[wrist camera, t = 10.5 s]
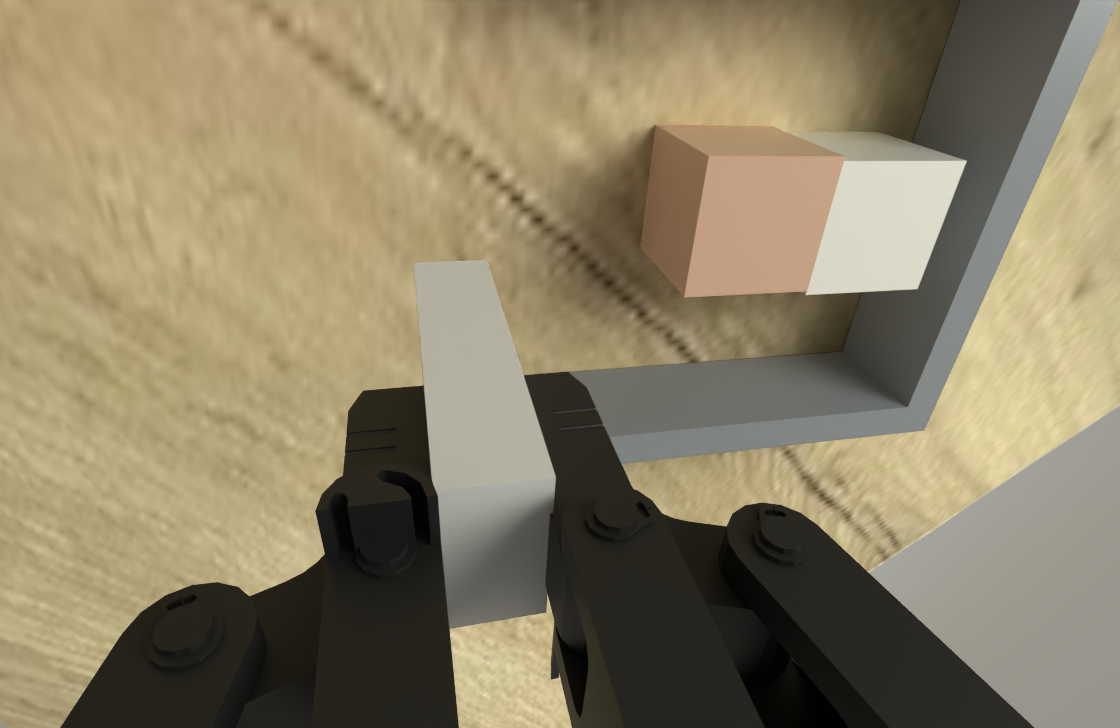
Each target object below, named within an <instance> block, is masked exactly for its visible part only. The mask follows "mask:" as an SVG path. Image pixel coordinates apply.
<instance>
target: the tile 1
mask: <svg viewBox="0 0 1120 728" xmlns="http://www.w3.org/2000/svg"><path fill="white" fill-rule="evenodd" d="M844 159H845V156H843V155H841V154H838V153H836V152H833V151H831V150H828V149H826V148H824V147H821V146H819V145H816V144H814V143H811V142H809V141H807V140H804V139H802V138H799V137H797V136H794V135H792V134H790V133H787V132H785V131H782V130H780V129H777V128H775V127H773V126H705V125H656V126H655V134H654V141H653V149H652V157H651V165H650V173H649V181H648V189H647V196H646V204H645V212H644V220H643V228H642V236H641V244H640V248H641V249H642V251H643V252H644V253H645V254H646V255H647V256H648V257H649V258H650V260H651V261H652V262H653V263H654V264H655V265H656V266H657V268H658V269H659V270H660V271H661V272H662V273H663V274H664V275H665V277H666V278H667V279H668V280H669V281H670V282H671V283H672V284H673V286H674V287H675V288H676V289H677V290H678V291H679V292H680V293H681V295H682V296H683V297H684V298H685V297H704V296H724V295H744V294H763V293H783V292H803V291H807V288H808V285H809V281H810V278H811V274H812V271H813V267H814V264H815V260H816V257H817V253H818V250H819V246H820V243H821V239H822V236H823V232H824V229H825V225H826V222H827V219H828V215H829V212H830V208H831V205H832V201H833V198H834V194H835V191H836V187H837V184H838V180H839V177H840V173H841V170H842V166H843V163H844Z"/></svg>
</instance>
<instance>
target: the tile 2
mask: <svg viewBox="0 0 1120 728" xmlns="http://www.w3.org/2000/svg"><path fill="white" fill-rule="evenodd" d="M785 132H787V133H790V134H792V135H794V136H797V137H799V138H802V139H804V140H807V141H809V142H811V143H814V144H816V145H819V146H821V147H824V148H826V149H828V150H831V151H833V152H836V153H838V154H841V155H843V156H845V159H844V163H843V166H842V170H841V173H840V177H839V180H838V184H837V187H836V191H835V194H834V198H833V201H832V205H831V208H830V212H829V215H828V219H827V222H826V225H825V229H824V232H823V236H822V239H821V243H820V246H819V250H818V253H817V257H816V260H815V264H814V267H813V271H812V274H811V278H810V281H809V285H808V288H807V291H803V293H804V294H805V295H816V294H835V293H853V292H872V291H891V290H910V289H918V287H919V284H920V281H921V279H922V276H923V274H924V271H925V268H926V266H927V263H928V261H929V258H930V255H931V253H932V250H933V248H934V245H935V242H936V240H937V237H938V235H939V232H940V229H941V227H942V224H943V222H944V219H945V216H946V214H947V211H948V209H949V206H950V203H951V201H952V198H953V196H954V193H955V190H956V188H957V185H958V183H959V180H960V177H961V175H962V172H963V170H964V167H965V164H966V162H967V161H966V160H963V159H960V158H957V157H954V156H951V155H948V154H944V153H941V152H938V151H935V150H932V149H929V148H926V147H923V146H920V145H917V144H914V143H911V142H908V141H905V140H902V139H899V138H896V137H893V136H890V135H887V134H884V133H880V132H846V131H785Z"/></svg>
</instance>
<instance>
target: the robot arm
mask: <svg viewBox="0 0 1120 728" xmlns="http://www.w3.org/2000/svg"><path fill="white" fill-rule="evenodd" d="M414 273H415V286H416V299H417V311H418V324H419V337H420V350H421V363H422V375H423V386H414V387H402V388H390V389H378V390H366V391H363V392H362V393H361V394H360V396H359V397H358V398H357V400H356V401H355V403H354V404H353V405H352V407H351V408H350V409H349V411H348V423H347V437H346V447H345V459H344V471H343V476H342V477H340V478H338V479H336V480H335V482H334V483H333V484H332V485H331V486H330V487H329V488H328V489H327V490H326V491H325V492H324V493H323V494H322V496H321V498H320V501H319V503H318V506H317V508H316V511H315V512H316V516H317V520H318V525H319V529H320V534H321V538H322V543H323V547H324V551H325V555H324V556H323V557H322V558H321V559H320V560H319V561H318V562H317V563H316V564H314V565H313V566H312V567H310V568H309V569H308V570H306V571H305V572H304V573H302V574H300V575H298V576H296V577H294V578H292V579H290V580H288V581H286V582H284V583H281V584H279V585H276V586H274V587H272V588H269V589H267V590H264V591H262V592H259V593H257V594H254V595H252V596H248V595H247V594H246V593H245V592H243V591H242V590H241V589H240V588H239V587H235V586H231V585H227V584H222V583H218V582H216V583H207V584H198V585H191V586H189V587H186V588H184V589H181V590H178V591H176V592H173V593H171V594H168V595H166V596H164V597H163V598H161V599H160V600H158V601H157V602H155V603H154V604H152V605H151V606H150V607H148V608H147V609H145V610H144V611H142V612H141V613H140V614H139V615H138V616H137V618H136V619H135V620H134V621H133V622H132V623H131V624H130V625H129V627H128V628H127V629H126V630H125V631H124V632H123V633H122V635H121V636H120V638H119V639H118V641H117V642H116V644H115V645H114V647H113V648H112V650H111V651H110V653H109V654H108V656H107V658H106V659H105V661H104V662H103V664H102V665H101V667H100V668H99V670H98V671H97V673H96V674H95V676H94V677H93V679H92V680H91V682H90V683H89V685H88V686H87V688H86V689H85V691H84V693H83V694H82V696H81V697H80V699H79V700H78V702H77V703H76V705H75V706H74V708H73V709H72V711H71V712H70V714H69V715H68V717H67V718H66V720H65V721H64V723H63V724H62V726H61V728H459V726H458V715H457V704H456V694H455V683H454V673H453V662H452V652H451V641H450V630H449V629H450V628H456V627H462V626H468V625H474V624H480V623H486V622H492V621H498V620H504V619H510V618H516V617H522V616H528V615H533V614H539V613H545V612H546V607H547V593H548V597H549V601H550V605H551V609H552V613H553V617H554V632H553V644H552V655H551V679H555V678H559V673H560V678H561V682H562V686H563V691H564V695H565V699H566V703H567V708H568V712H569V716H570V720H571V725H572V728H1034V727H1033V726H1032V725H1031V724H1030V723H1029V722H1028V721H1027V720H1025V719H1024V718H1023V717H1022V716H1021V715H1020V714H1019V713H1018V712H1017V711H1016V710H1015V709H1014V708H1013V707H1012V706H1010V705H1009V704H1008V703H1007V702H1006V701H1005V700H1004V699H1003V698H1002V697H1001V696H1000V695H999V694H997V692H995V691H994V690H993V689H992V688H991V687H990V686H989V685H988V684H987V683H986V682H985V681H984V680H983V679H982V678H981V677H979V676H978V675H977V674H976V673H975V672H974V671H973V670H972V669H971V668H970V667H969V666H968V665H967V664H966V663H964V662H963V661H962V660H961V659H960V658H959V657H958V656H957V655H956V654H955V653H954V652H953V651H952V650H951V649H949V648H948V647H947V646H946V645H945V644H944V643H943V642H942V641H941V640H940V639H939V638H938V637H937V636H936V635H934V634H933V633H932V632H931V631H930V630H929V629H928V628H927V627H926V626H925V625H924V624H923V623H922V622H921V621H919V620H918V619H917V618H916V617H915V616H914V615H913V614H912V613H911V612H910V611H909V610H908V609H907V608H906V607H905V606H903V605H902V604H901V603H900V602H899V601H898V600H897V599H896V598H895V597H894V596H893V595H892V594H890V593H889V591H887V590H886V589H885V588H884V587H883V586H882V585H881V584H880V583H879V582H878V581H877V580H875V578H874V577H872V576H871V575H870V574H869V573H868V572H867V571H866V570H865V569H864V568H863V567H862V566H861V565H860V564H859V563H857V562H856V561H855V560H854V559H853V558H852V557H851V556H850V555H849V554H848V553H847V552H846V551H845V550H844V549H842V548H841V547H840V546H839V545H838V544H837V543H836V542H835V541H834V540H833V539H832V538H831V537H830V536H829V535H828V534H826V533H825V532H824V531H823V530H822V529H821V528H820V527H819V526H818V525H817V524H815V523H814V522H812V521H811V520H810V519H808V518H807V517H805V516H804V515H803V514H801V513H799V512H797V511H794V510H792V509H789V508H787V507H784V506H782V505H776V504H768V503H757V504H751V505H746V506H744V507H742V508H741V509H739V510H738V511H736V512H735V513H733V514H732V516H731V518H730V521H729V523H728V525H727V527H726V526H718V525H711V524H703V523H695V522H688V521H683V520H679V519H674V518H671V517H669V516H667V515H664V514H662V513H661V512H660V510H659V509H658V508H657V506H656V505H655V504H654V502H653V501H652V500H651V499H649V498H648V497H646V496H645V495H643V494H642V493H640V492H639V491H637V490H634V489H633V488H632V486H631V484H630V482H629V480H628V477H627V475H626V473H625V471H624V469H623V466H622V464H621V462H620V460H619V457H618V455H617V453H616V451H615V449H614V446H613V444H612V442H611V440H610V438H609V435H608V433H607V431H606V429H605V427H603V422H602V420H601V418H600V415H599V413H598V411H596V406H595V404H594V402H593V400H592V398H591V395H590V393H589V391H588V389H587V387H586V386H585V385H583V384H582V383H581V382H580V381H579V380H577V379H576V378H575V377H574V376H573V375H571V374H570V373H569V372H559V373H547V374H535V375H523V372H522V369H521V366H520V362H519V359H518V356H517V353H516V350H515V347H514V343H513V340H512V337H511V334H510V331H509V328H508V325H507V321H506V318H505V315H504V312H503V309H502V306H501V303H500V299H499V296H498V293H497V290H496V287H495V284H494V280H493V277H492V274H491V271H490V268H489V265H488V262H487V260H471V261H447V262H422V263H414Z"/></svg>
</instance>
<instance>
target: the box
mask: <svg viewBox="0 0 1120 728" xmlns="http://www.w3.org/2000/svg"><path fill="white" fill-rule="evenodd" d="M1117 2H1118V0H961V1H960V4H959V7H958V10H957V13H956V16H955V18H954V21H953V24H952V27H951V30H950V33H949V36H948V39H947V42H946V45H945V48H944V51H943V54H942V57H941V60H940V63H939V66H938V69H937V72H936V75H935V78H934V81H933V84H932V87H931V90H930V93H929V96H928V99H927V102H926V105H925V108H924V110H923V113H922V116H921V119H920V122H919V125H918V128H917V131H916V134H915V137H914V140H913V143H914V144H917V145H920V146H923V147H926V148H929V149H932V150H935V151H938V152H941V153H944V154H948V155H951V156H954V157H957V158H960V159H963V160H966V161H967V162H966V164H965V167H964V170H963V172H962V175H961V177H960V180H959V183H958V185H957V188H956V190H955V193H954V196H953V198H952V201H951V203H950V206H949V209H948V211H947V214H946V216H945V219H944V222H943V224H942V227H941V229H940V232H939V235H938V237H937V240H936V242H935V245H934V248H933V250H932V253H931V255H930V258H929V261H928V263H927V266H926V268H925V271H924V274H923V276H922V279H921V281H920V284H919V287H918V289H910V290H891V291H872V292H862V294H861V297H860V300H859V303H858V306H857V309H856V312H855V315H854V318H853V321H852V324H851V327H850V330H849V333H848V336H847V339H846V342H845V345H844V348H843V351H842V352H830V353H816V354H803V355H790V356H776V357H763V358H750V359H737V360H723V361H710V362H697V363H684V364H670V365H657V366H644V367H630V368H617V369H604V370H591V371H577V372H569V373H570V374H571V375H573V376H574V377H575V378H576V379H577V380H579V381H580V382H581V383H582V384H583V385H585V386H586V387H587V389H588V391H589V393H590V395H591V398H592V400H593V402H594V404H595V406H596V411H598V413H599V415H600V418H601V420H602V422H603V427H605V429H606V431H607V433H608V435H609V438H610V440H611V442H612V444H613V446H614V449H615V451H616V453H617V455H618V457H619V460H620V462H621V464H623V463H632V462H642V461H651V460H660V459H669V458H678V457H687V456H696V455H705V454H714V453H724V452H733V451H742V450H751V449H760V448H769V447H778V446H787V445H796V444H805V443H815V442H824V441H833V440H842V439H851V438H860V437H869V436H878V435H887V434H897V433H906V432H915V431H924V430H925V427H926V425H927V423H928V421H929V419H930V416H931V414H932V412H933V410H934V407H935V405H936V403H937V401H938V399H939V396H940V394H941V392H942V390H943V388H944V385H945V383H946V381H947V379H948V376H949V374H950V372H951V370H952V368H953V365H954V363H955V361H956V359H957V357H958V354H959V352H960V350H961V348H962V345H963V343H964V341H965V339H966V337H967V334H968V332H969V330H970V328H971V326H972V323H973V321H974V319H975V317H976V314H977V312H978V310H979V308H980V306H981V303H982V301H983V299H984V297H985V295H986V292H987V290H988V288H989V286H990V283H991V281H992V279H993V277H994V275H995V272H996V270H997V268H998V266H999V264H1000V261H1001V259H1002V257H1003V255H1004V252H1005V250H1006V248H1007V246H1008V244H1009V241H1010V239H1011V237H1012V235H1013V233H1014V230H1015V228H1016V226H1017V224H1018V221H1019V219H1020V217H1021V215H1022V213H1023V210H1024V208H1025V206H1026V204H1027V202H1028V199H1029V197H1030V195H1031V193H1032V190H1033V188H1034V186H1035V184H1036V182H1037V179H1038V177H1039V175H1040V173H1041V171H1042V168H1043V166H1044V164H1045V162H1046V159H1047V157H1048V155H1049V153H1050V151H1051V148H1052V146H1053V144H1054V142H1055V140H1056V137H1057V135H1058V133H1059V131H1060V128H1061V126H1062V124H1063V122H1064V120H1065V117H1066V115H1067V113H1068V111H1069V109H1070V106H1071V104H1072V102H1073V100H1074V97H1075V95H1076V93H1077V91H1078V89H1079V86H1080V84H1081V82H1082V80H1083V78H1084V75H1085V73H1086V71H1087V69H1088V66H1089V64H1090V62H1091V60H1092V58H1093V55H1094V53H1095V51H1096V49H1097V47H1098V44H1099V42H1100V40H1101V38H1102V35H1103V33H1104V31H1105V29H1106V27H1107V24H1108V22H1109V20H1110V18H1111V16H1112V13H1113V11H1114V9H1115V7H1116V4H1117Z"/></svg>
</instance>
